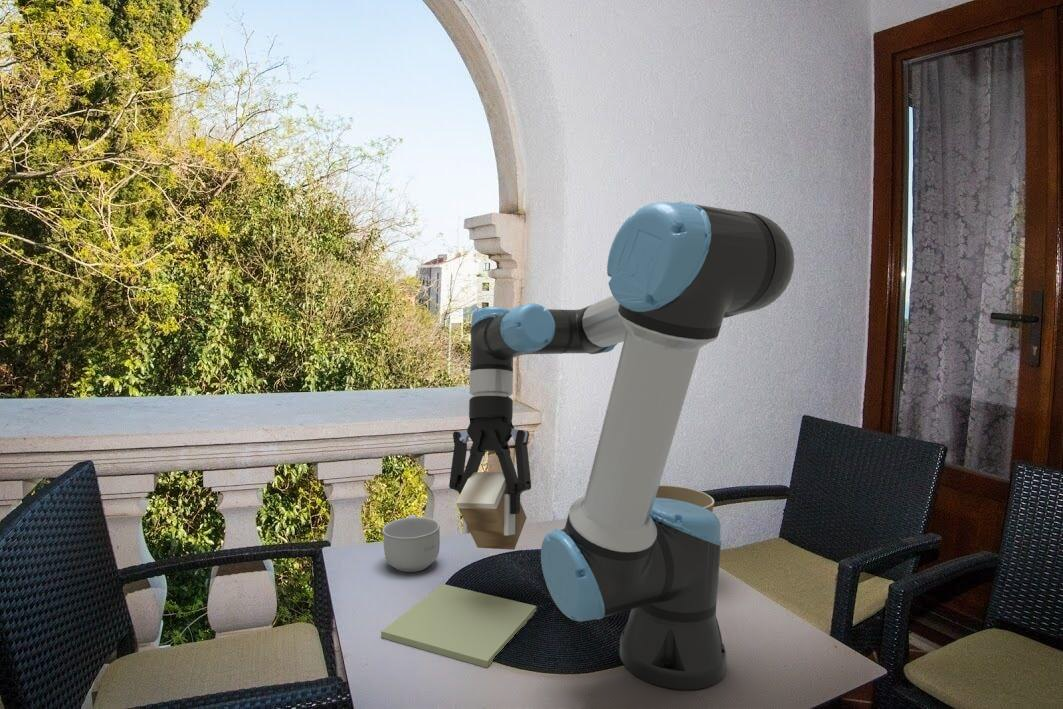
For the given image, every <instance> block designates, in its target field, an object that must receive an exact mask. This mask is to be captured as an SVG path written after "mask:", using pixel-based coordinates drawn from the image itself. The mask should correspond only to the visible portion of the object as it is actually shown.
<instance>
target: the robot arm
mask: <svg viewBox="0 0 1063 709" xmlns="http://www.w3.org/2000/svg"><path fill="white" fill-rule="evenodd" d="M608 253H609V254H608V257H607V263H606V264H607V266H606V273H607V274H606V275H607V277H610V280H609V281H608V287H609V290H610V294H611V295H612V296H609V297H607V298H604V299H602V300H599V301H597V302H595V303H592V304H591V305H588V306H585V307H583V308H579V309H556V308H555V309H552V308H551V309H549V308H546V307H545V306H543V305H541V304H539V303H534V302H530V303H525V304H520V305H517V306H515V307H513V308H511V309H508V308H506V307H502V306H501V307H500V306H486V307H481V308H480V307H479V308H477V309H475V310H474V311H473V313H472V315H471V325H470V330H469V334H470V366H469V367H470V370H469V371H470V373H469V391H468V392H469V394H470V395H471V396H472V397H470V399H469V402H468V403H469V404H468V418H469V424H468V426H467V428H466V429H465V430H462V431H458V430H457V431H456V430H455V431H454V432H452V438H453V439H452V440H453V444H454V446H453V455H452V461H451V468H450V476H449V484H448V487H449V489H450V490H454V491H457V492H458V497H459V496H460V494H461V492H462V490H463V488H464V486H465V484H466V482H467V480H468V479H469V477H470V476H471V475H472V474H473V472H479V469H480V466H481V463H482V460H483V457H484V456H485V455H486V452H490V451H491V452H494V453H495V455H496V456H497V458H498V461H499V464H500V469H501V470H502V472H503V474H504V478H505V481H506V484H507V487H508V490H509V491H508V492H507V493H508V494H505V497H504V535H514V534H515V514H519V512H520V503H521V495H522V493H523V492H526V491H530V490H531V489H532V479H531V468H530V460H529V449H528V443H529V437H530V432H529V430H523V429H517V428H515V427H514V425H513V416H514V415H513V414H514V413H513V412H514V411H513V410H514V409H513V408H514V407H513V405H514V403H513V402H514V401H513V399H512V398H511V397H510V396H512V395H513V393H514V392H513V391H514V389H513V388H514V387H513V386H514V385H513V384H514V358H516V357H520V356H524V355H558V354H559V355H560V354H562V355H563V354H589V355H595V354H598V355H599V354H602V353H603V354H604V353H609V352H612V351H613V350H614V349H615V347H616V346H617V345H618V344H620V343H622V347H621V351H620V356H619V359H618V363H617V368H616V370H615V371H616V372H615V375H614V379H613V383H612V387H611V392H610V393H609V394H610V395H609V400H608V403H607V406H606V411H605V415H604V418H603V423H602V427H601V432H600V435H599V439H598V442H597V448H596V451H595V455H594V458H593V463H592V467H591V471H590V473H589V477H588V478H589V480H588V482H587V487H586V489H585V490H586V491H585V495H583V496H582V497H580V498H579V497H578V498H577V499H576V500H574V502H573V503H572V504H571V505H570V507H569V511H568V514H567V519H566V522H565V526H564V528H563V529H562V528H561V529H558V528H556V529H554V530H552V531H551V532H549V533H547V534H546V535H545V536H544V537H543V540H542V543H541V549H540V562H541V569H542V574H543V578H544V580H545V584H546V587H547V590H548V592H549V594H550V596H551V598H552V601H553V602H554V603H555V605H556V607H557V608H558V609H559V610H560V612H561V613H562V614H563V615H565V616H566V617H567V618H569V619H570V620H572V621H575V622H586V621H592V620H598V621H599V620H602V619H603V618H605V617H606V618H607V617H610V616H613V615H616V614H620V613H623V612H627V611H629V610H630V613H629V615H628V620H627V622H626V625H625V627H624V628H623V630H622V632H621V634H620V639H619V657H620V660H621V662H622V664H623V666H625V668H626V669H627V670H629V671H630V672H631V673H632V674H633V675H635V676H636V677H637V678H639V679H641V680H643V681H645V682H647V683H649V684H652V685H656V686H659V687H663V688H668V689H673V690H683V691H684V690H686V691H687V690H689V691H691V690H692V691H693V690H700V689H705V688H708V687H710V686H713V685H715V684H717V683H718V682H719V681H721V679H722V678H723V677H724V675H725V673H726V663H727V653H726V652H727V651H726V648H725V644H724V643H723V638H722V637H723V636H722V633H721V629H720V626H719V622H718V618H717V600H718V586H719V574H720V560H721V548H722V547H721V546H722V544H723V543H722V540H721V523H720V520H719V518H718V515H716V514H715V513H714V512H713V511H712V512H711V511H709V510H707V509H705V508H703V507H700V506H698V505H695V504H691V503H688V502H683V501H679V500H674V499H667V498H656V494H657V491H658V488H659V485H661V484H660V483H661V480H662V476H663V474H664V471H665V467H666V464H667V460H668V457H669V455H670V454H669V453H670V451H671V446H672V444H673V439H674V437H675V433H676V430H677V427H678V423H679V420H680V417H681V413H682V410H683V408H684V403H685V399H686V396H687V393H688V390H689V386H690V383H691V379H692V376H693V372H694V369H695V366H696V363H697V359H698V356H699V352H700V349H701V348H702V347H704V346H706V345H708V344H710V343H712V342H714V341H716V340H717V339H718V336H719V334H720V331H721V326H722V325H723V321H724V319H726V318H730V317H734V316H738V315H741V314H744V313H750V312H753V311H754V312H755V311H758V310H760V309H763V308H765V307H768V306H769V305H771V304H773V303H774V302H776V301H777V299H779V298H780V297H781V296H782V295H783V293H784V292H785V291H786V289H788V288H787V287H788V286H789V284H790V282H791V280H792V276H793V273H794V268H795V254H794V249H793V245H792V243H791V240H790V239H789V237H788V235H787V234H786V232H785V231H784V230H783V229H782V228H781V226H779V225H778V223H776V222H774V221H773V220H772V219H770V218H769V217H766V216H764V215H762V214H759V213H756V212H751V211H745V210H744V211H741V210H732V209H726V208H720V207H713V206H708V205H701V204H695V203H693V202H685V201H679V202H670V201H668V202H667V201H657V202H651V203H649V204H646V205H644V206H642V207H640V208H639V209H638V210H636V212H635V213H632V214H631V215H629V216H628V217H627V219H626V220H625V221H624V222H623V223H622V225H621V226H620V227H619V229H618V231H617V232H616V234H615V237H614V239H613V241H612V243H611V247H610V249H609V252H608ZM469 438H470V439H469ZM511 439H513V441H514V451H515V460H516V461H515V462H516V464H515V465H516V469H515V465H514V463H513V460H512V455H511V448H510V447H509V441H510V440H511ZM469 440H471V442H472V444H471V447H470V450H469V457H468V460H467V461H466V458H467V452H468V443H469ZM466 462H467V463H466ZM516 470H517V471H516ZM458 510H459V509H458ZM459 512H460V510H459ZM462 534H467V535H468V534H471V533H470V531H469V529H468V527H467V525H466V523H465V521H464V519H463V518H462Z"/></svg>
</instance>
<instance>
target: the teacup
mask: <svg viewBox="0 0 1063 709" xmlns="http://www.w3.org/2000/svg"><path fill="white" fill-rule="evenodd" d="M440 528H441V524H440V522H439V521H438V520H437V519H434V518H430V517H428V516H427V517H423V516H417V514H409V515H408V517H404V518H402V517H401V518H399V519H394V520H392V521H390V522H388V523H386V524H385V525H384V526H383V527H382V529H381V530H382V531H381V532H382V537H383V538H382V540H383V550H384V552H383V553H384V556H385V560H386V561H387V563H388V564H389V565H390V566H392V567H393V568H395V569H396V570H397V571H399V572H404V573H415V572H420V571H423V570H425V569H426V568H428V567H430V566H431V564H432V563H434V562H435V561H436V560H437V558H438V556H439V554H440V545H441V544H440V543H441V541H440V540H441V538H440V534H441V533H440V532H441V531H440V530H441V529H440Z"/></svg>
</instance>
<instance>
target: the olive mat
mask: <svg viewBox="0 0 1063 709" xmlns="http://www.w3.org/2000/svg"><path fill="white" fill-rule="evenodd" d="M535 612H536V613H537V606H536V605H534V604H529V603H524V602H520V601H517V600H512V599H509V598H504V597H500V596H497V595H496V596H495V595H491V594H487V593H482V592H478V591H474V590H470V589H465V588H461V587H458V586H452V585H449V584H445V583H443V584H441V585H439V586H438V587H436V588H435V589H434V590H433V591H432V592H429V593H428V594H427V596H425V597H423V598H422V599H421V600H420V601H418V603H416V604H415V605H413V606H412V607H410V608H409V609H407V611H406V612H404V613H403V614H402V615H400V616H399V617H398V618H396V619H395V620H394V621H392V622H391V623H390V624H389V625H387V626H386V627H385V628H384V629H382V630H381V631H380V638H382V639H385V640H388V641H393V642H395V643H399V644H402V645H407V646H410V647H413V648H416V649H420V650H423V651H426V652H431V653H434V654H437V655H441V656H445V657H447V658H451V659H454V660H457V661H461V662H462V661H463V662H465V663H469V664H472V665H476V666H479V667H483V668H489V667H490V665H491V664H492V663H493V662H494V661H493V659H494V658H495V656H496V655H497V654H498V653H499V652H500V651H501V650H502V649H503V648H504V646H505V645H506V644H507V643H508V642H509V641H510V640H511V639H512V638H513V637H514V635H515V634H516V633H517V632H518V631H519V630H520V629H521V628H522V627H523V628H524V626H526V624H527V623H528V622H529V621H530V620H531V618H533V616H534V615H535V614H536V613H535ZM534 613H535V614H534ZM529 619H530V620H529ZM528 620H529V621H528ZM527 621H528V622H527ZM523 628H522V629H523ZM522 629H521V630H522ZM521 630H520V631H521ZM520 631H519V632H520ZM519 632H518V633H519ZM518 633H517V634H518ZM517 634H516V635H517ZM514 638H515V637H514ZM514 638H513V639H514ZM513 639H512V640H513ZM512 640H511V641H512ZM511 641H510V642H511ZM510 642H509V643H510ZM504 649H505V648H504ZM504 649H503V650H504ZM503 650H502V651H503ZM502 651H501V652H502ZM495 659H496V658H495ZM495 659H494V660H495Z"/></svg>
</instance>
